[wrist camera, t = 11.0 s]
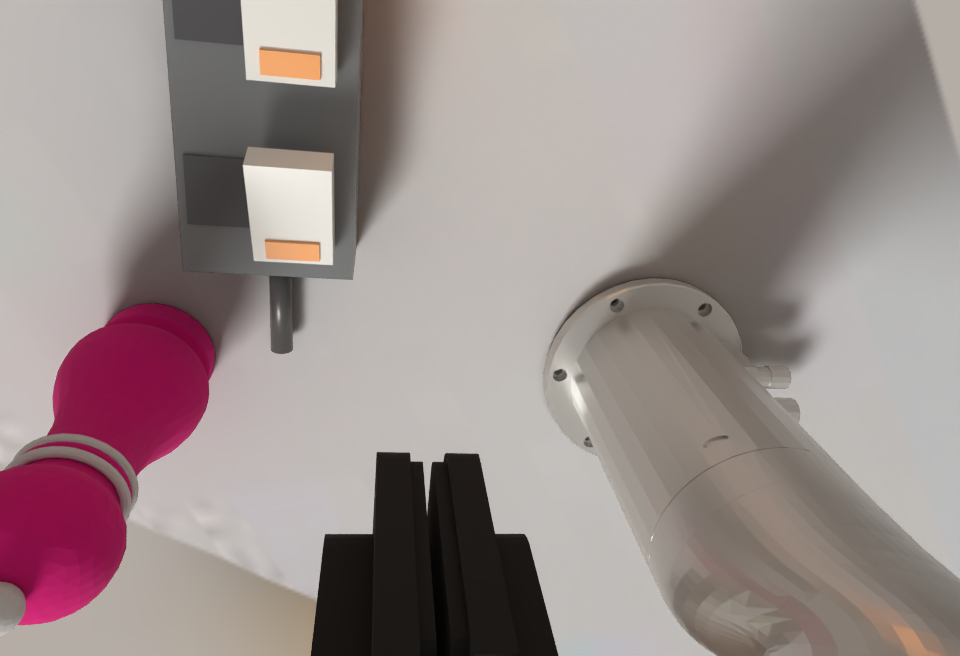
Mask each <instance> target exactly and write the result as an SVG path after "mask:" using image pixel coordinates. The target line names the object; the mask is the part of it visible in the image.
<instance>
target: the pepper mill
mask: <svg viewBox="0 0 960 656" xmlns="http://www.w3.org/2000/svg"><path fill="white" fill-rule="evenodd" d="M214 366H215V352H214V346H213V343H212V340H211V338H210V336H209V335H208V333H207V332H206V330H205V329H204V328H203V326H202V325H201V324H200V323H199V322H198V321H197V320H195V319H194V318H192V317H191V316H190V315H188V314H187V313H185V312H183V311H181V310H179V309H176V308H174V307H171V306H167V305H162V304H140V305H136V306H132V307H129V308H127V309H125V310H122V311H120V312H119V313H118V314H116V315H115V316H114V317H113V318H111V320H110V321H109V322H108V323H107V324H106V325H105V327H103V328H100V329H98V330H96V331H94V332H91V333H90V334H88V335H87V336H85V337H84V338H83V339H81V340H80V341H79V342H78V343H77V344H76V345H75V346H74V347H73V348H72V349H71V350H70V352H69V353H68V355H67V356H66V358H65V359H64V361H63V363H62V364H61V366H60V368H59V370H58V373H57V377H56V381H55V385H54V391H53V411H54V418H55V420H54V423H53V426H52V428H51V429H50V431H49V433H48V435H47V436H45V437H41V438H39V439H37V440H34V441H32V442H31V443H29V444H27V445H26V446H25V447H23V448H22V449H21V450H20V451H19V452H18V453H17V454H16V456H15V457H14V459H13V461H12V462H11V463H10V464H9V465H8V466H7V467H6V468H5V470H3V471H0V636H2V635H4V634H6V633H8V632H9V631H11V630H12V629H14V628H15V627H16V626H17V625H31V624H41V623H47V622H52V621H55V620H58V619H60V618H63V617H65V616H68V615H70V614H73V613H75V612H76V611H77V610H79V609H81V608H83V607H84V606H86V605H87V604H88V603H90V602H91V601H92V600H93V599H94V598H95V597H97V596H98V595H99V594H100V593H101V592H102V590H103V589H104V588H105V587H106V586H107V584H108V583H109V582H110V580H111V579H112V577H113V576H114V574H115V572H116V571H117V570H118V568H119V565H120V563H121V561H122V558H123V555H124V552H125V549H126V521H127V520H128V517H129V514H130V512H131V511H132V509H133V507H134V505H135V503H136V501H137V497H138V481H137V475H138V474H139V472H140V471H142V470H143V469H144V468H145V467H146V466H147V465H149V464H150V463H152V462H154V461H156V460H157V459H159V458H161V457H163V456H165V455H167V454H169V453H170V452H172V451H173V450H174V449H176V448H177V447H178V446H179V445H180V444H181V443H182V442H183V441H185V440H186V439H187V438H188V437H189V436H190V435H191V433H192V432H193V431H194V429H195V428H196V426H197V425H198V423H199V422H200V420H201V418H202V416H203V414H204V412H205V410H206V407H207V403H208V398H209V382H208V381H209V379H210V377H211V375H212V372H213V370H214Z"/></svg>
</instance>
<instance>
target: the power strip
mask: <svg viewBox="0 0 960 656" xmlns="http://www.w3.org/2000/svg"><path fill="white" fill-rule="evenodd" d="M163 11H164V24H165V38H166V51H167V64H168V77H169V91H170V104H171V117H172V131H173V144H174V157H175V170H176V184H177V197H178V210H179V224H180V237H181V250H182V263H183V271H191V272H210V273H230V274H249V275H269V284H270V328H271V351H272V352H274V353H278V354H285V353H289V352H291V351H292V350H293V321H292V277H308V278H327V279H347V280H353V273H354V264H355V256H356V247H357V214H358V182H359V149H360V117H361V84H362V52H363V19H364V0H338V38H337V81H336V86H335V88H332V87H321V86H310V85H299V84H288V83H277V82H266V81H255V80H246V69H245V55H244V41H243V26H242V12H241V0H163ZM248 147H258V148H271V149H284V150H297V151H310V152H323V153H334V211H335V250H334V259H333V265H320V264H302V263H283V262H265V261H254V257H253V249H252V240H251V231H250V223H249V214H248V206H247V197H246V188H245V180H244V171H243V163H244V159H245V155H246V152H247V148H248Z"/></svg>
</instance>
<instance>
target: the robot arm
mask: <svg viewBox="0 0 960 656" xmlns="http://www.w3.org/2000/svg"><path fill="white" fill-rule="evenodd" d="M615 299H617V300H616V302H614V303H611V302H612V301H613V300H615ZM701 305H702V306H701ZM700 306H701V307H700ZM558 369H560V370H559V371H556V370H558ZM790 382H791V374H790V371H789V369H788V368H787V367H784V366H765V367H756V366H755V365H754V364H753V363H752V362H751V361H750V360H749V359H748V358H747V357H746V356H745V355H744V354H743V353H742V343H741V340H740V336H739V333H738V330H737V327H736V326H735V324H734V322H733V320H732V319H731V317H730V315H729V314H728V313H727V312H726V311H725V310H724V308H723V307H722V306H721V305H720V304H719V303H718V302H717V301H715V300H714V299H713V298H712V297H710V296H709V295H708V294H707V293H706V292H704V291H702V290H700V289H698V288H696V287H694V286H692V285H690V284H688V283H684V282H680V281H676V280H672V279H658V278H649V279H642V280H634V281H630V282H627V283H623V284H620V285H617V286H614V287H612V288H610V289H608V290H606V291H604V292H602V293H600V294H598V295H596V296H594V297H593V298H592V299H590V300H589V301H587V302H586V303H585V304H583V305H582V306H581V307H579V308H578V309H577V310H576V311H575V312H574V313H573V315H572V316H571V317H570V318H569V319H568V320H567V321H566V322H565V323H564V325H563V326H562V328H561V329H560V331H559V332H558V334H557V335H556V337H555V338H554V340H553V343H552V345H551V348H550V350H549V352H548V355H547V359H546V364H545V368H544V392H545V397H546V401H547V405H548V407H549V410H550V412H551V415H552V417H553V419H554V421H555V423H556V424H557V426H558V427H559V429H560V430H561V432H562V433H563V434H564V435H565V436H566V437H567V438H568V439H569V440H570V441H571V442H572V443H573V444H575V445H576V446H578V447H579V448H581V449H582V450H584V451H586V452H588V453H591V454H593V455H596V456H598V458H599V460H600V462H601V465H602V467H603V469H604V471H605V473H606V475H607V478H608V480H609V482H610V484H611V486H612V489H613V491H614V493H615V495H616V497H617V499H618V502H619V504H620V506H621V508H622V510H623V512H624V515H625V517H626V519H627V521H628V523H629V526H630V528H631V530H632V532H633V534H634V536H635V539H636V541H637V543H638V545H639V547H640V550H641V552H642V554H643V556H644V558H645V560H646V563H647V565H648V567H649V569H650V571H651V573H652V576H653V577H654V580H655V582H656V584H657V586H658V588H659V591H660V593H661V595H662V597H663V599H664V601H665V603H666V605H667V606H668V608H669V610H670V611H671V613H672V615H673V616H674V618H675V619H676V620H677V621H678V623H679V624H680V625H681V627H682V628H683V629H684V630H685V631H686V632H687V633H688V634H689V635H690V636H691V637H692V638H693V639H694V640H696V641H697V642H698V643H699V644H700V645H702V646H703V647H704V648H706V649H707V650H709V651H710V652H712V653H714V654H715V655H717V656H960V579H959V578H958V577H957V576H955V575H954V574H953V573H952V572H951V571H949V570H948V569H947V568H946V567H945V566H943V565H942V564H941V563H940V562H939V561H937V560H936V559H935V558H934V557H933V556H931V555H930V554H929V553H928V552H927V551H926V550H924V549H923V548H922V547H921V546H920V545H919V544H918V543H917V542H916V541H915V540H914V539H913V538H912V537H911V536H910V535H909V534H907V533H906V532H905V531H904V530H903V529H902V528H901V527H900V526H899V525H898V524H897V523H896V522H895V521H894V520H893V519H892V518H891V517H890V516H889V515H888V514H887V513H886V512H885V511H883V510H882V509H881V508H880V507H879V506H878V505H877V504H876V503H875V502H874V501H873V500H872V499H871V498H870V497H869V496H868V495H867V494H866V493H865V492H864V491H863V490H862V489H861V488H860V487H859V486H858V485H857V484H856V483H855V482H854V481H853V480H852V478H851V477H850V476H849V475H848V474H847V473H846V472H845V471H844V470H843V469H842V468H841V467H840V466H839V465H838V464H837V463H836V462H835V461H834V460H833V459H832V458H831V457H830V456H829V455H828V454H827V453H826V451H825V450H824V449H823V448H822V447H821V446H820V445H819V444H818V443H817V442H816V441H815V440H814V439H813V438H812V437H811V436H810V435H809V434H808V433H807V432H806V431H805V430H804V429H803V428H802V427H801V426H800V425H799V424H798V423H799V420H800V409H799V405H798V403H797V402H796V400H794V399H792V398H773V397H772V396H771V395H770V393H769V392H768V391H767V390H766V389H765V388H768V389H786V388H788V387H789V385H790ZM311 656H558V652H557V649H556V645H555V641H554V637H553V633H552V629H551V626H550V622H549V618H548V614H547V610H546V606H545V603H544V599H543V595H542V591H541V587H540V583H539V580H538V576H537V572H536V568H535V564H534V560H533V557H532V553H531V549H530V545H529V542H528V539H527V537H526V536H525V534H495V532H494V527H493V522H492V517H491V512H490V507H489V502H488V497H487V492H486V487H485V482H484V477H483V472H482V467H481V462H480V458H479V455H478V454H457V453H446V454H445V457H444V462H433V463H432V468H431V478H430V490H429V501H428V512H427V510H426V497H425V485H424V472H423V462H410V453H393V452H377V458H376V478H375V498H374V519H373V534H325V538H324V546H323V554H322V563H321V572H320V580H319V589H318V598H317V606H316V616H315V624H314V633H313V641H312V650H311Z"/></svg>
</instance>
